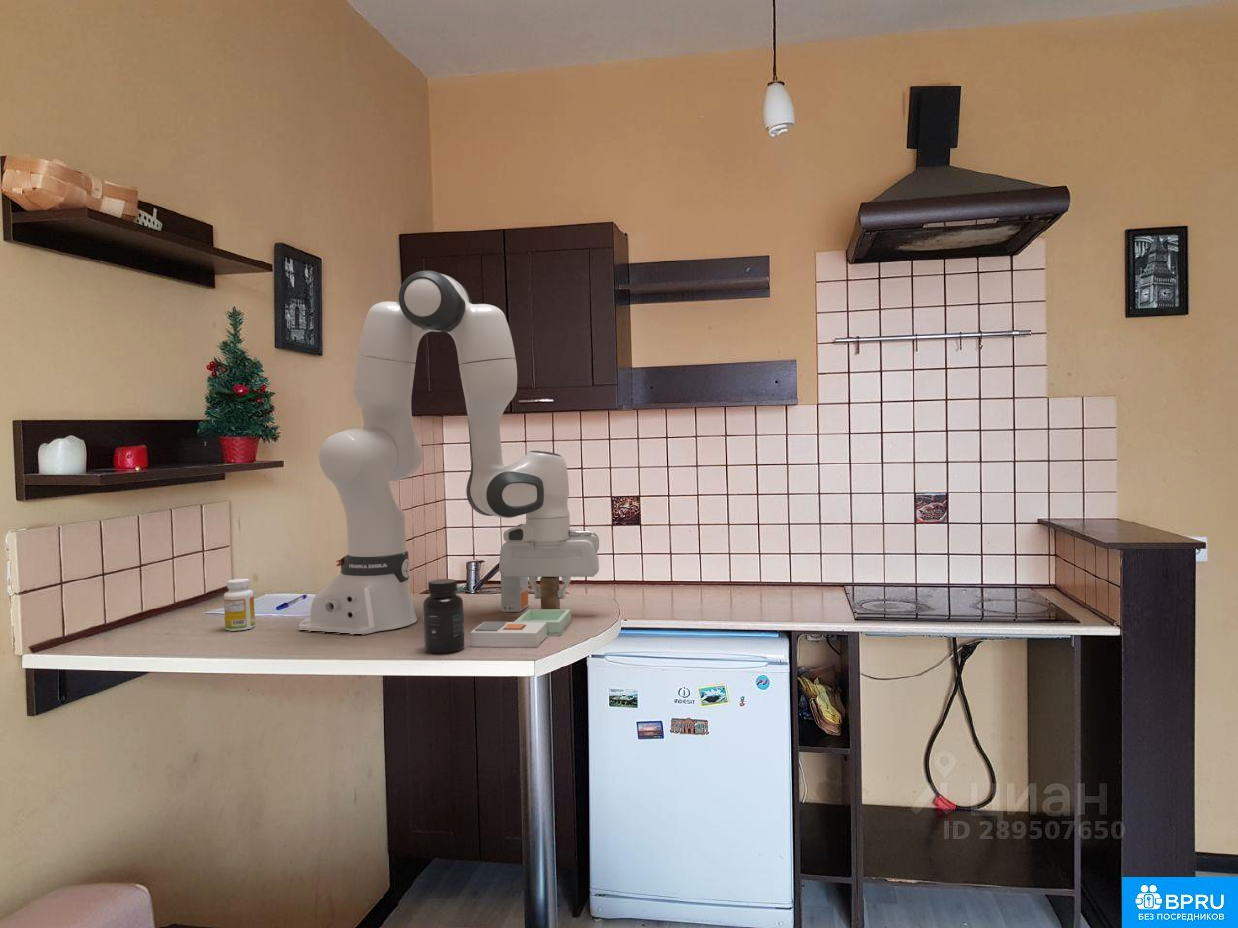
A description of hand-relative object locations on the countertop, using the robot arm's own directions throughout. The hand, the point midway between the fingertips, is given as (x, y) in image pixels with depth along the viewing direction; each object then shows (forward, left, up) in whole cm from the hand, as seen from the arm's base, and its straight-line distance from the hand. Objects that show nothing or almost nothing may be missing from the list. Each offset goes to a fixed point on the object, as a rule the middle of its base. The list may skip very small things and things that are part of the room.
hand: (550, 598), depth 167 cm
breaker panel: (-3, -20, -4) cm, 21 cm away
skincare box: (-9, +6, -4) cm, 11 cm away
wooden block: (0, 0, -4) cm, 4 cm away
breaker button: (-2, -20, -3) cm, 20 cm away
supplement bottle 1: (-60, -13, -4) cm, 62 cm away
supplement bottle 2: (-13, -26, -4) cm, 29 cm away
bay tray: (+1, -10, -4) cm, 11 cm away
